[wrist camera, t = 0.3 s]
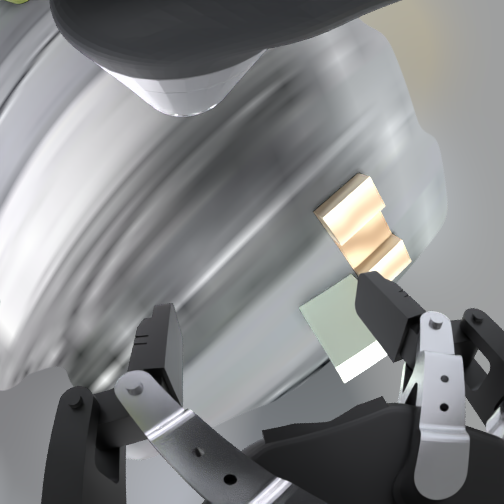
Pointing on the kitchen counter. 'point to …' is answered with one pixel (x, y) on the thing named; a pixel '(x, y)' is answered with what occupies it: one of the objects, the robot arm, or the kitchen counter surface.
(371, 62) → the kitchen counter surface
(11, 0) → the plant pot
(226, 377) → the kitchen counter surface
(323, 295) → the tall mint green pillar
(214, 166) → the kitchen counter surface
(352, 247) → the slot board
